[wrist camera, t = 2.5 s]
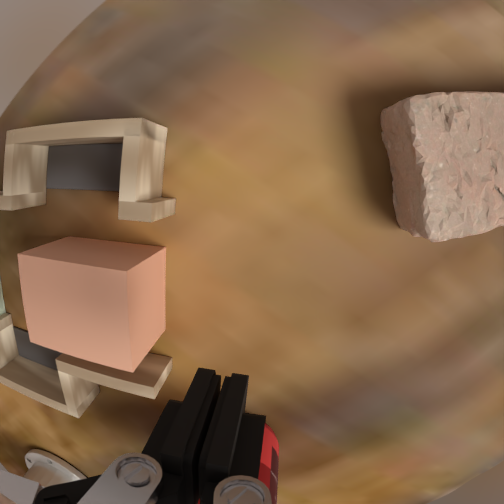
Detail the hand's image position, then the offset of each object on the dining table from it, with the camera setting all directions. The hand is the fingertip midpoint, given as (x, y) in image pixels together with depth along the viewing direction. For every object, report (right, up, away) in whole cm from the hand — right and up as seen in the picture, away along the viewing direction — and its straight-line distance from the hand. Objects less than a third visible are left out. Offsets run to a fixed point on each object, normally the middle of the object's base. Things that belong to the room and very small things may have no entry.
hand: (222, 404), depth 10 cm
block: (-9, +3, +12) cm, 15 cm away
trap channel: (-14, +4, +12) cm, 19 cm away
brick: (+18, +12, +8) cm, 23 cm away
